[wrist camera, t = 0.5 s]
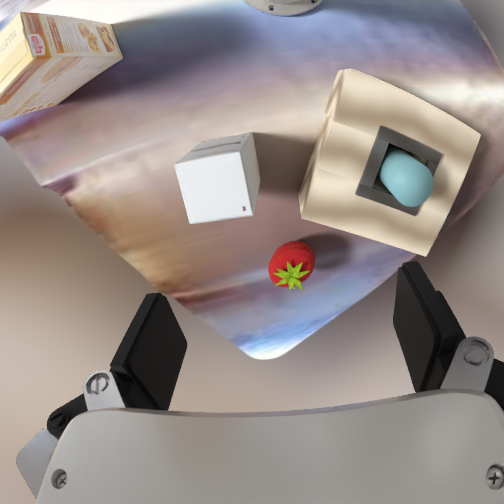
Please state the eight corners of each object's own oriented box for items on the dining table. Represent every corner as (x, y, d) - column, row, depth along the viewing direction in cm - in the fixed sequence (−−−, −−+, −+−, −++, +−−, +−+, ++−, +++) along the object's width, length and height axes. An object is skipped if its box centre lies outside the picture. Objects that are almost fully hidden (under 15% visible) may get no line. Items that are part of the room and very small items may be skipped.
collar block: (338, 70, 34) (353, 67, 26) (452, 123, 35) (483, 135, 28) (298, 195, 44) (302, 220, 36) (407, 230, 45) (427, 258, 38)
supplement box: (253, 130, 39) (242, 150, 29) (261, 180, 43) (255, 218, 32) (201, 139, 40) (172, 163, 30) (211, 187, 44) (189, 226, 34)
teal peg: (382, 141, 33) (403, 155, 27) (415, 156, 33) (440, 172, 27) (369, 177, 36) (386, 198, 30) (401, 190, 36) (422, 212, 30)
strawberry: (320, 241, 47) (328, 279, 39) (288, 270, 51) (289, 311, 42) (293, 218, 46) (295, 253, 37) (260, 250, 49) (256, 289, 41)
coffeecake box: (110, 22, 31) (20, 9, 14) (125, 59, 34) (34, 60, 18) (43, 73, 35) (-46, 92, 18) (56, 106, 38) (-33, 137, 21)
